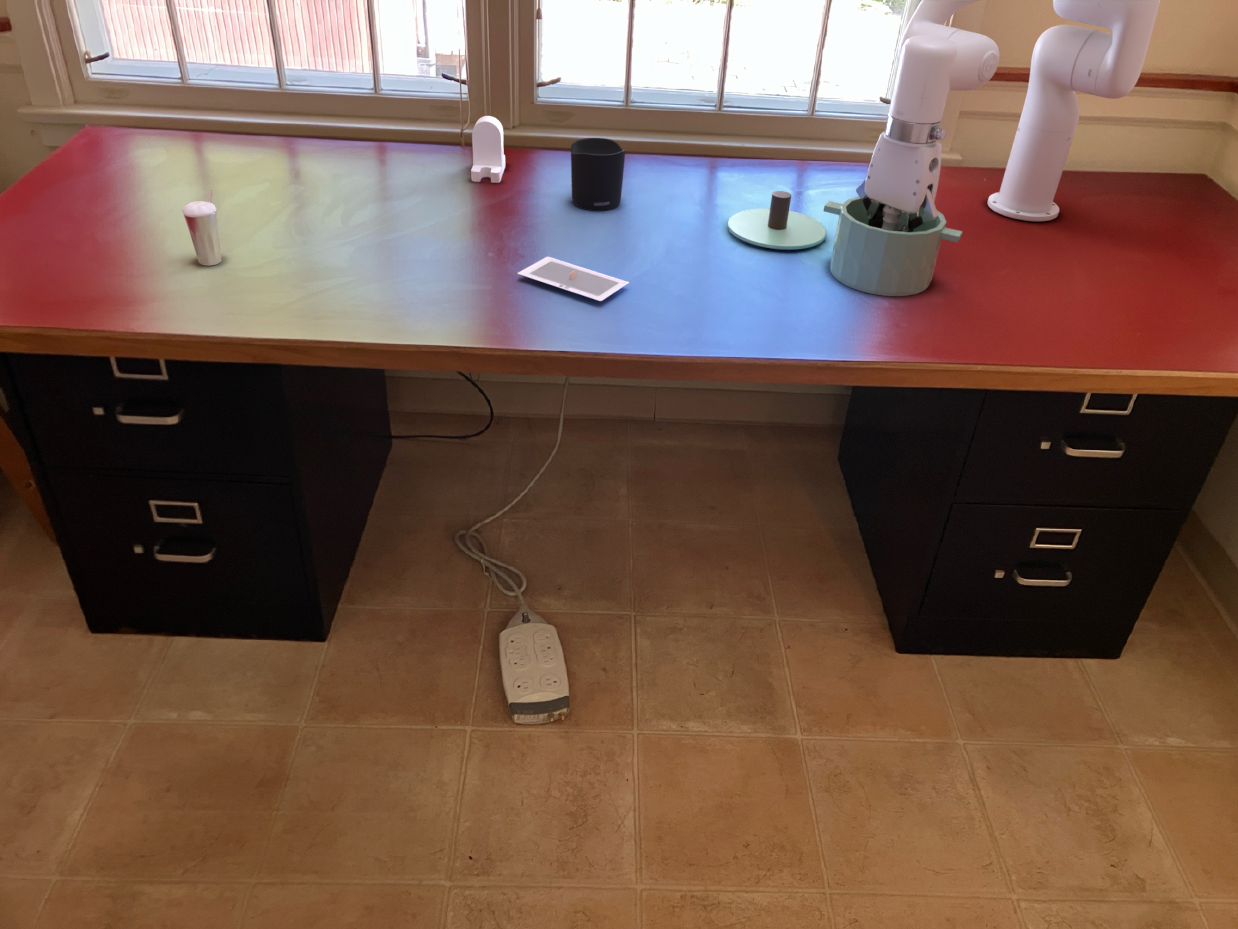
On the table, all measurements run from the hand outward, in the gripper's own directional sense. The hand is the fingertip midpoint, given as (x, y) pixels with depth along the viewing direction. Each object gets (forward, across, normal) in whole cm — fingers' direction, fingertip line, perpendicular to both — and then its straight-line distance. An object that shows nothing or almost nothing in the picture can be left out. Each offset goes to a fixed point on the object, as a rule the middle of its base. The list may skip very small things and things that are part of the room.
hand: (886, 246), depth 151 cm
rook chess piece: (+1, 0, 0) cm, 1 cm away
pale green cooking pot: (+5, 0, 0) cm, 5 cm away
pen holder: (+5, +49, +18) cm, 52 cm away
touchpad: (+5, +25, +42) cm, 49 cm away
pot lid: (+4, +21, +1) cm, 21 cm away
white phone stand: (+5, +72, +25) cm, 76 cm away
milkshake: (+5, +63, +82) cm, 103 cm away
